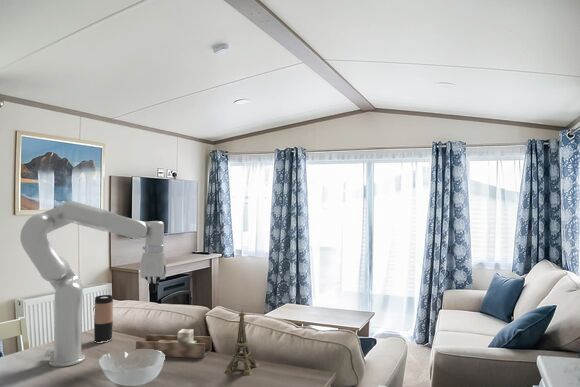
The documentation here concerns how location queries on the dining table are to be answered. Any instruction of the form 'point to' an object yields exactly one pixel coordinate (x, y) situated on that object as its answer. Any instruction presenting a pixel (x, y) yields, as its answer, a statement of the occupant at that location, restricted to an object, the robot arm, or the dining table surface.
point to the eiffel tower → (244, 354)
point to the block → (186, 335)
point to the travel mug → (103, 318)
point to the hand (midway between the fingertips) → (152, 292)
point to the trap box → (176, 345)
